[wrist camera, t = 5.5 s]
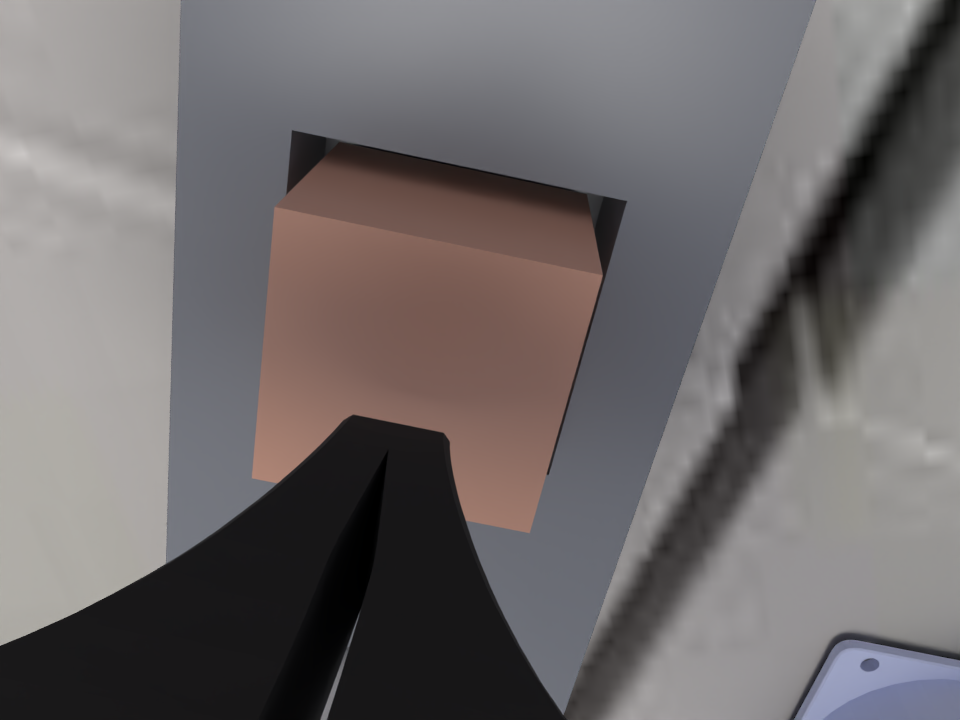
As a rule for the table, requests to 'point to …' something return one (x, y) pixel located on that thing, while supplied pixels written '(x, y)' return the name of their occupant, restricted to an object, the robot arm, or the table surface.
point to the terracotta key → (427, 318)
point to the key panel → (495, 150)
